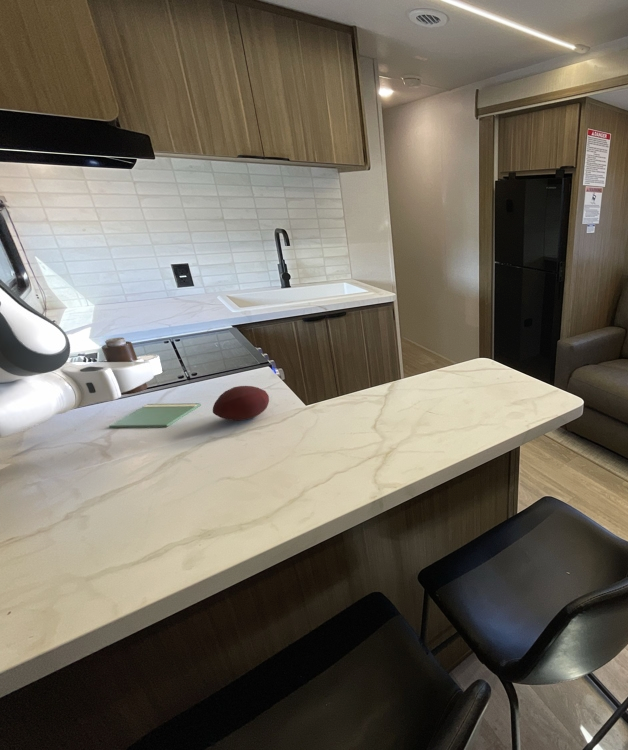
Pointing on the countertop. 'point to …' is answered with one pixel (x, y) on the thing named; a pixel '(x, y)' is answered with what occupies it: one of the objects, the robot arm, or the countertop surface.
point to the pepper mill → (121, 356)
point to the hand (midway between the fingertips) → (127, 361)
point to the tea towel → (156, 415)
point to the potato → (241, 403)
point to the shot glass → (153, 362)
